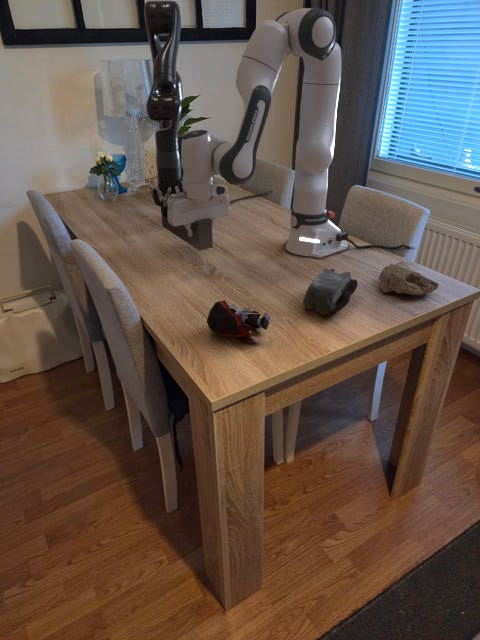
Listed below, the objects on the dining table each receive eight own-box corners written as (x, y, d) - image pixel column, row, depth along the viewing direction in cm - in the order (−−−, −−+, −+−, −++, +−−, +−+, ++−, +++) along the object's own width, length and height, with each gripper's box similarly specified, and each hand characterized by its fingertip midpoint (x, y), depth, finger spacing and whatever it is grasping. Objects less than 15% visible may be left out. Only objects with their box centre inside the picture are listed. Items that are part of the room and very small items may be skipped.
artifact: (399, 307, 125) (440, 299, 130) (406, 284, 121) (449, 278, 126) (362, 275, 139) (401, 270, 144) (368, 254, 135) (408, 249, 140)
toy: (264, 297, 102) (206, 289, 108) (254, 335, 100) (195, 325, 105) (276, 315, 113) (223, 308, 119) (267, 350, 110) (213, 341, 116)
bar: (162, 226, 156) (160, 200, 151) (175, 223, 158) (173, 198, 153) (199, 251, 138) (198, 222, 133) (212, 247, 140) (211, 219, 135)
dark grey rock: (338, 325, 116) (342, 298, 112) (298, 314, 120) (300, 288, 116) (357, 296, 130) (361, 271, 126) (321, 287, 134) (323, 263, 130)
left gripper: (153, 169, 137) (158, 222, 146) (193, 163, 144) (196, 214, 153) (143, 165, 142) (148, 216, 151) (182, 159, 149) (185, 209, 158)
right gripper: (171, 197, 125) (175, 244, 132) (232, 186, 135) (232, 230, 142) (161, 192, 129) (165, 237, 136) (221, 182, 139) (221, 224, 146)
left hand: (172, 215), depth 152 cm, fingers closed on bar, 5 cm apart
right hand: (200, 233), depth 139 cm, fingers closed on bar, 5 cm apart
